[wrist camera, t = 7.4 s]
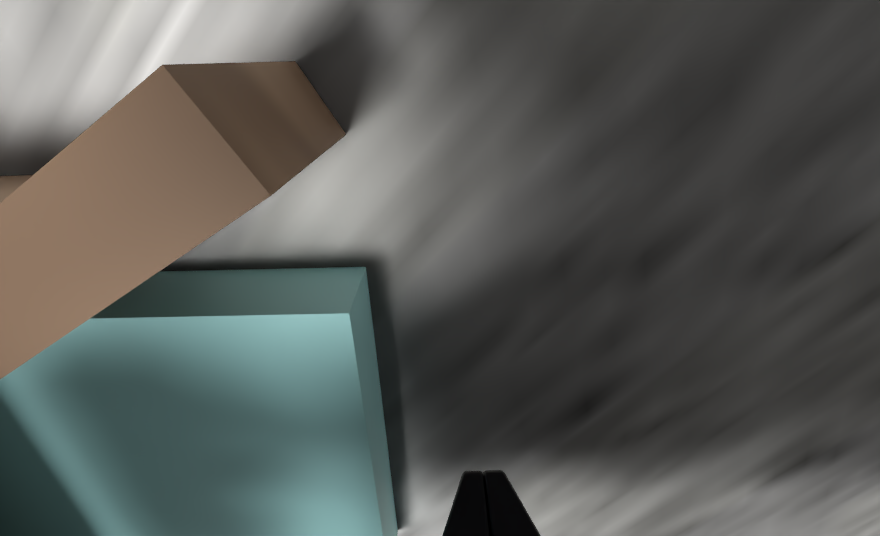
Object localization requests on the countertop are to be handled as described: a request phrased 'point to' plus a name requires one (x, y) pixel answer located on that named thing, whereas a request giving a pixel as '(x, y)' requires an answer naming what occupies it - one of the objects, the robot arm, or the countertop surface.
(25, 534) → the panel
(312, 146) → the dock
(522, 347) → the countertop surface
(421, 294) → the countertop surface
